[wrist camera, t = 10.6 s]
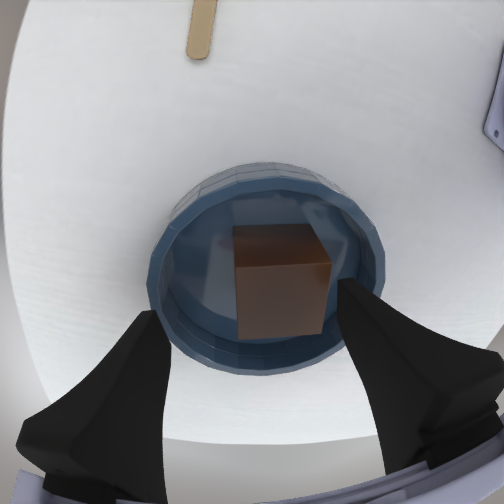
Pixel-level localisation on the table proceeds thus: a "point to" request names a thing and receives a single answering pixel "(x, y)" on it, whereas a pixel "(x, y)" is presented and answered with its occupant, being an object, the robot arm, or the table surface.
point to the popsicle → (201, 29)
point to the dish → (222, 264)
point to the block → (280, 280)
